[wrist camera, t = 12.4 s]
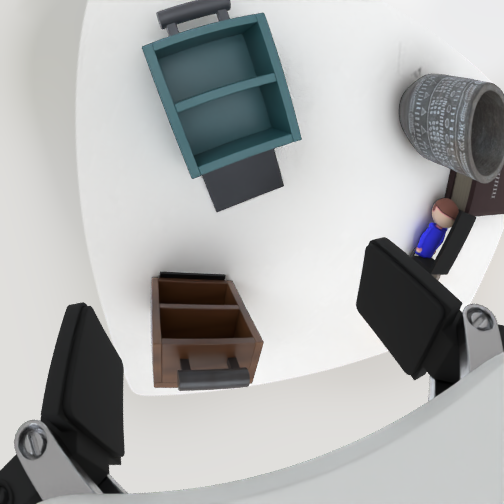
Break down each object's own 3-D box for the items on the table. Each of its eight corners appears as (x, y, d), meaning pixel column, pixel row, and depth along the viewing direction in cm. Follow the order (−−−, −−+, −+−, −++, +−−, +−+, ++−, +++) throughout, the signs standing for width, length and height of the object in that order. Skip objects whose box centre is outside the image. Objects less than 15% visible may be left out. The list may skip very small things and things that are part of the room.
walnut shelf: (262, 406, 25) (276, 365, 23) (156, 413, 22) (154, 371, 19) (225, 318, 38) (232, 280, 36) (150, 316, 35) (151, 276, 33)
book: (442, 207, 42) (466, 222, 37) (459, 99, 32) (487, 106, 27) (501, 205, 48) (518, 216, 44) (515, 129, 39) (535, 137, 34)
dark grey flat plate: (197, 161, 28) (197, 162, 28) (269, 135, 29) (270, 136, 28) (216, 211, 31) (216, 212, 31) (282, 185, 32) (284, 186, 32)
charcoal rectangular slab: (217, 311, 38) (218, 312, 38) (158, 310, 36) (158, 311, 35) (225, 274, 36) (225, 275, 36) (160, 271, 33) (160, 273, 33)
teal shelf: (137, 31, 19) (130, 15, 14) (236, 1, 20) (252, -18, 15) (187, 164, 28) (192, 179, 23) (278, 131, 28) (301, 139, 24)
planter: (388, 156, 34) (461, 189, 23) (386, 67, 27) (468, 73, 17) (441, 152, 36) (505, 180, 25) (442, 77, 29) (512, 91, 19)
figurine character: (415, 265, 49) (451, 196, 40) (438, 291, 43) (480, 220, 35) (393, 264, 46) (431, 188, 38) (416, 293, 41) (463, 213, 32)
